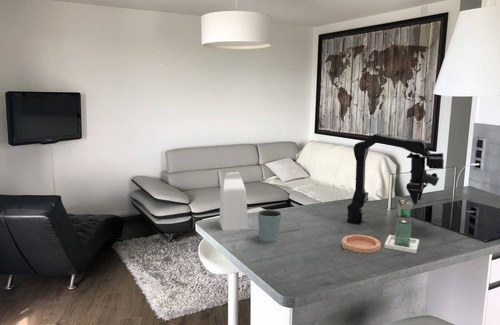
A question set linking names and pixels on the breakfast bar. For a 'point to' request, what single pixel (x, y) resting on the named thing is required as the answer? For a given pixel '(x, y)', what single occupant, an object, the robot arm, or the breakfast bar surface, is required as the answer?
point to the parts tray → (412, 248)
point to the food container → (403, 208)
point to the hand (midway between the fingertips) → (417, 202)
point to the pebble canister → (402, 232)
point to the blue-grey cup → (269, 225)
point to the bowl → (361, 243)
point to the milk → (233, 203)
